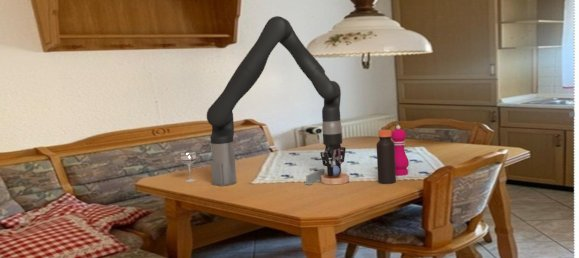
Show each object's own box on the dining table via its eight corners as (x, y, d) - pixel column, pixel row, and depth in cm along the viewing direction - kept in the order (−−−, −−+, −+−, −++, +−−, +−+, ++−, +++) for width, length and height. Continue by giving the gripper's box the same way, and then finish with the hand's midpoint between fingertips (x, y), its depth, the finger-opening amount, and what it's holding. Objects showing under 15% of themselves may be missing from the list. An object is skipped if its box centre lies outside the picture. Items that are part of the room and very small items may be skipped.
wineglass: (189, 178, 251) (187, 151, 249) (201, 179, 247) (199, 152, 246) (179, 181, 245) (176, 154, 244) (191, 182, 242) (188, 154, 240)
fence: (310, 184, 223) (310, 176, 223) (304, 184, 225) (303, 175, 224) (327, 177, 235) (326, 169, 234) (320, 177, 236) (320, 168, 236)
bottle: (396, 180, 222) (394, 129, 219) (395, 184, 215) (392, 131, 213) (379, 180, 223) (376, 129, 221) (377, 184, 217) (374, 132, 215)
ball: (335, 177, 222) (335, 166, 222) (326, 176, 225) (326, 165, 225) (342, 175, 226) (341, 164, 225) (333, 174, 229) (332, 163, 228)
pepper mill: (396, 171, 237) (394, 124, 235) (412, 172, 233) (410, 124, 230) (387, 175, 232) (385, 126, 229) (403, 176, 227) (401, 126, 225)
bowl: (337, 185, 218) (337, 179, 218) (315, 183, 225) (315, 177, 225) (354, 180, 226) (354, 174, 226) (332, 177, 234) (331, 171, 233)
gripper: (328, 135, 216) (331, 179, 218) (350, 130, 226) (352, 172, 228) (313, 134, 221) (315, 177, 223) (335, 129, 231) (337, 170, 233)
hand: (334, 174), depth 226 cm, fingers closed on ball, 4 cm apart
